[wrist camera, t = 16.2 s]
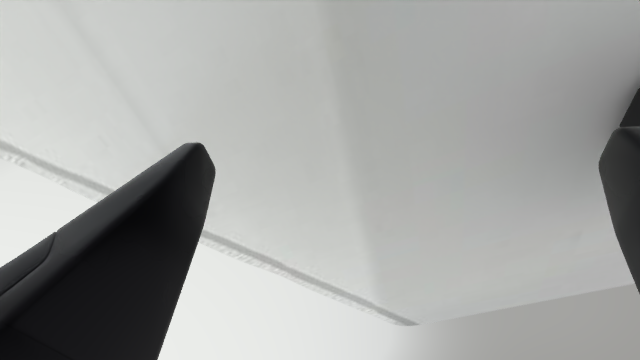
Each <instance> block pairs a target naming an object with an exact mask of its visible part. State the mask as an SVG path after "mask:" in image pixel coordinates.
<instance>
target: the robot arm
mask: <svg viewBox="0 0 640 360" xmlns="http://www.w3.org/2000/svg"><path fill="white" fill-rule="evenodd" d="M599 172H600V176H601V180H602V184H603V188H604V192H605V196H606V200H607V204H608V207H609V211H610V215H611V219H612V223H613V227H614V230H615V233H616V236H617V239H618V242H619V244H620V247H621V249H622V252H623V254H624V257H625V259H626V262H627V264H628V267H629V269H630V272H631V274H632V277H633V279H634V281H635V284H636V286H637V289H638V291H639V294H640V88H639V89H638V91H637V93H636V95H635V97H634V99H633V101H632V103H631V104H630V106H629V108H628V110H627V112H626V114H625V116H624V118H623V120H622V122H621V124H620V128H618V129H616V130H615V131H614V132H613V134H612V135H611V137H610V139H609V141H608V143H607V145H606V147H605V149H604V151H603V153H602V155H601V157H600V160H599ZM214 179H215V166H214V164H213V162H212V160H211V158H210V156H209V154H208V152H207V151H206V149H205V147H204V145H203V144H201V143H186V144H183V145H182V146H180V147H179V148H177V149H176V150H175V151H173V152H172V153H170V154H169V155H167V156H166V157H164V158H163V159H161V160H160V161H158V162H157V163H155V164H154V165H152V166H151V167H150V168H148V169H147V170H145V171H144V172H142V173H141V174H139V175H138V176H136V177H135V178H133V179H132V180H130V181H129V182H127V183H126V184H125V185H123V186H122V187H120V188H119V189H117V190H116V191H114V192H113V193H111V194H110V195H108V196H107V197H105V198H104V199H103V200H101V201H100V202H98V203H97V204H95V205H94V206H92V207H91V208H89V209H88V210H86V211H85V212H84V213H82V214H80V215H79V216H78V217H76V218H75V219H73V220H72V221H70V222H69V223H67V224H66V225H64V226H63V227H62V228H60V229H59V230H58V231H57V232H54V233H53V234H51V235H50V236H48V237H47V238H45V239H44V240H42V241H41V242H39V243H38V244H36V245H35V246H33V247H32V248H30V249H29V250H27V251H26V252H24V253H23V254H21V255H20V256H18V257H17V258H15V259H14V260H12V261H10V262H9V263H7V264H6V265H4V266H2V267H1V268H0V360H157V359H158V356H159V353H160V351H161V348H162V345H163V342H164V339H165V336H166V333H167V330H168V327H169V325H170V322H171V319H172V316H173V313H174V310H175V307H176V305H177V302H178V299H179V296H180V293H181V290H182V287H183V284H184V281H185V279H186V276H187V273H188V270H189V267H190V264H191V261H192V258H193V255H194V253H195V249H196V247H197V244H198V241H199V238H200V235H201V232H202V229H203V226H204V222H205V218H206V214H207V210H208V205H209V201H210V196H211V192H212V188H213V183H214Z"/></svg>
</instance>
